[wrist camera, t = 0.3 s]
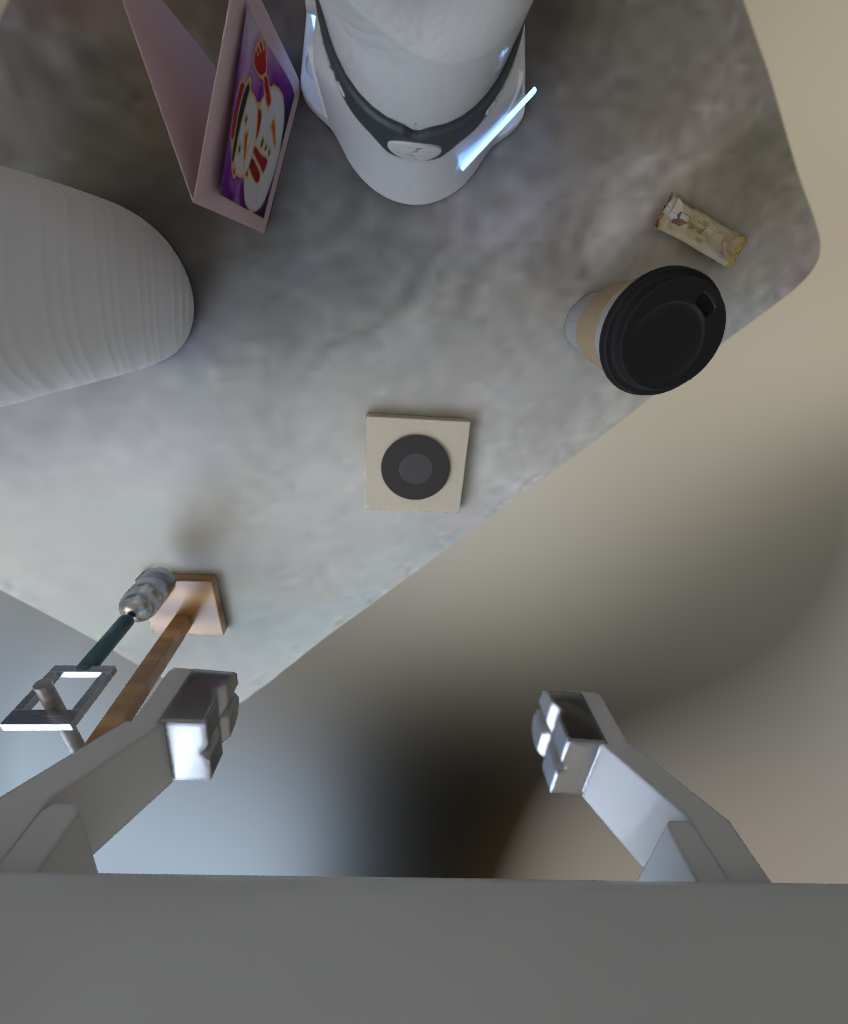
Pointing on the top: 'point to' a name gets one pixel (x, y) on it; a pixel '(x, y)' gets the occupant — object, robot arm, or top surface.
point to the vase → (81, 290)
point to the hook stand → (152, 652)
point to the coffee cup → (650, 329)
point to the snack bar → (700, 231)
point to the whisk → (96, 657)
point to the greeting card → (222, 105)
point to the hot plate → (415, 462)
